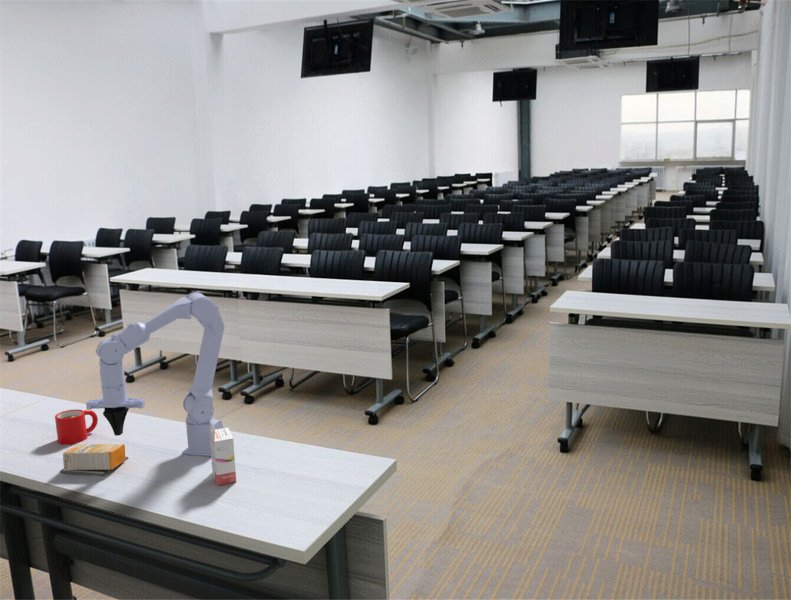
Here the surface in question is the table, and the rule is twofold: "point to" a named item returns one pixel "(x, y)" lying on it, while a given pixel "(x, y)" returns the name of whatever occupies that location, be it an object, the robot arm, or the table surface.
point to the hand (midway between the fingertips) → (118, 434)
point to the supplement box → (94, 457)
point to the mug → (74, 426)
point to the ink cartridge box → (222, 455)
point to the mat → (89, 471)
